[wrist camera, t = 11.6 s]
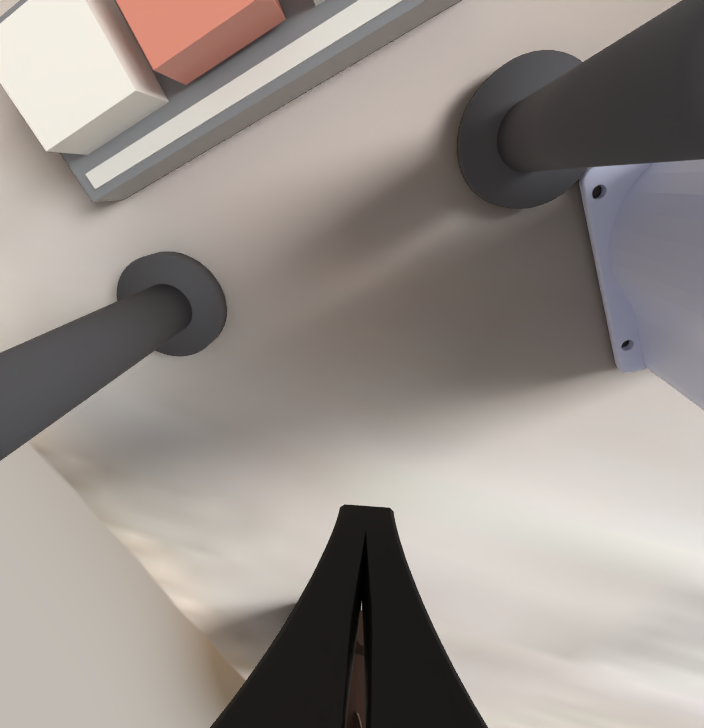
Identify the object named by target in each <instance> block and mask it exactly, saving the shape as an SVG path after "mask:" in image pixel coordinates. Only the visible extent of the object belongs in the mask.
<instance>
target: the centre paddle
mask: <svg viewBox="0 0 704 728" xmlns="http://www.w3.org/2000/svg"><path fill="white" fill-rule="evenodd" d="M116 1H117V3H118V5H119V7H120V9H121V11H122V12H123V14H124V16H125V18H126V20H127V22H128V24H129V25H130V27H131V29H132V31H133V33H134V35H135V37H136V38H137V40H138V42H139V44H140V46H141V48H142V50H143V52H144V53H145V55H146V57H147V59H148V61H149V63H150V65H151V66H152V68H153V70H154V71H156V72H158V73H161V74H163V75H165V76H167V77H169V78H172V79H174V80H176V81H178V82H180V83H182V84H185V85H187V84H188V83H190V82H191V81H193V80H194V79H196V78H197V77H199V76H201V75H202V74H204V73H205V72H207V71H208V70H210V69H211V68H213V67H214V66H216V65H217V64H219V63H220V62H222V61H223V60H225V59H226V58H228V57H229V56H231V55H233V54H234V53H236V52H237V51H239V50H240V49H242V48H243V47H245V46H246V45H248V44H249V43H251V42H252V41H254V40H255V39H257V38H258V37H260V36H261V35H263V34H265V33H266V32H268V31H269V30H271V29H272V28H274V27H275V26H277V25H278V24H280V23H281V22H283V21H284V20H286V18H285V16H284V13H283V11H282V8H281V6H280V3H279V1H278V0H116Z"/></svg>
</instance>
